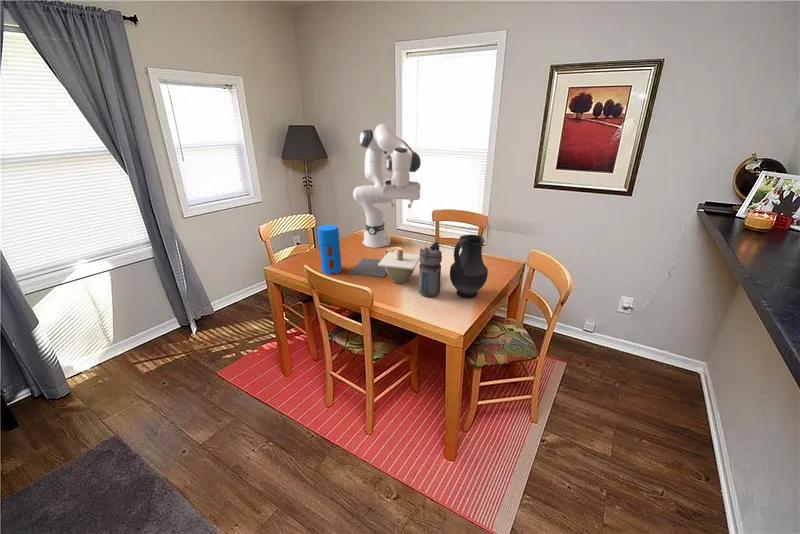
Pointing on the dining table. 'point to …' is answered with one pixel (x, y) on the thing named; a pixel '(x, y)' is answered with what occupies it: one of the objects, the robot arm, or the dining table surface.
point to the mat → (369, 268)
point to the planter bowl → (399, 274)
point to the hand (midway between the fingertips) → (401, 207)
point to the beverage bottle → (430, 271)
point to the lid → (399, 260)
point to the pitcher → (468, 266)
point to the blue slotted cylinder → (329, 249)
